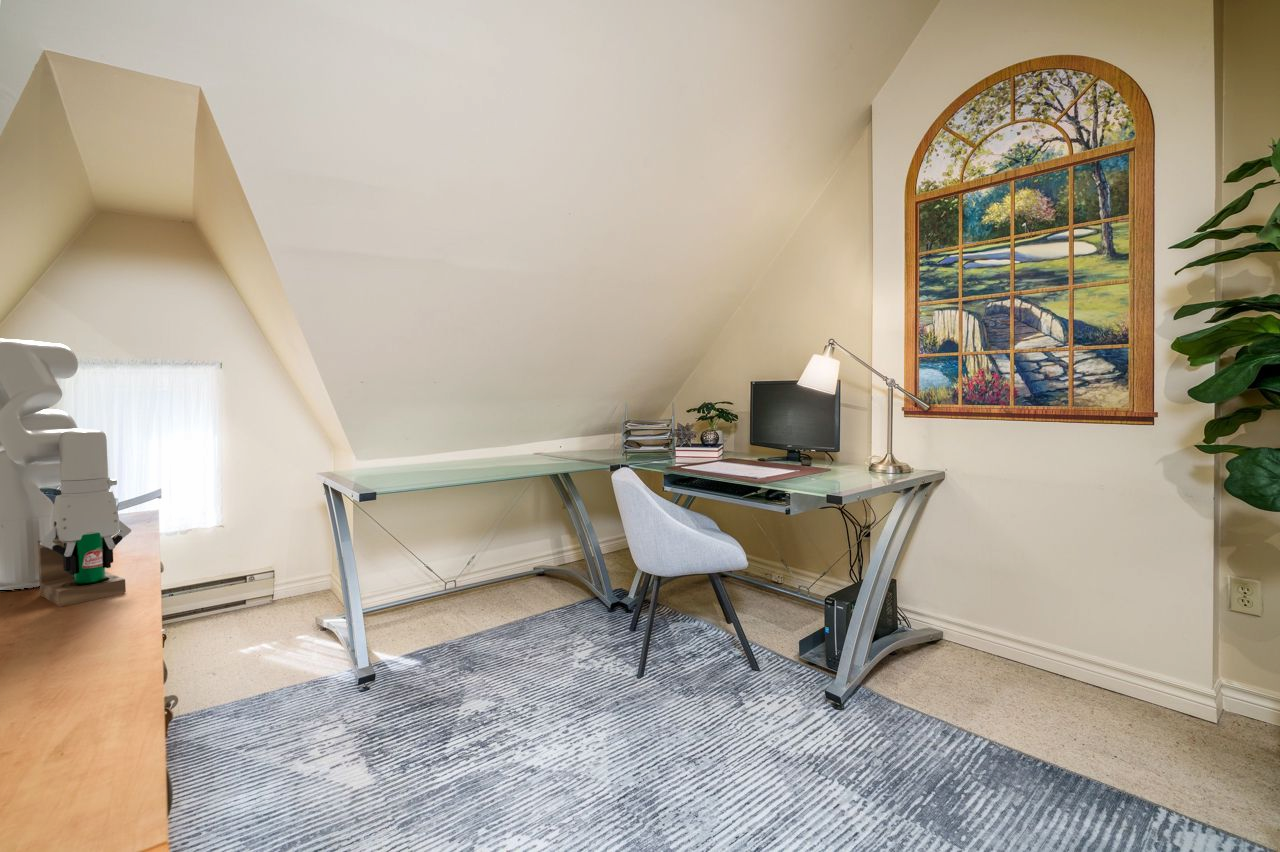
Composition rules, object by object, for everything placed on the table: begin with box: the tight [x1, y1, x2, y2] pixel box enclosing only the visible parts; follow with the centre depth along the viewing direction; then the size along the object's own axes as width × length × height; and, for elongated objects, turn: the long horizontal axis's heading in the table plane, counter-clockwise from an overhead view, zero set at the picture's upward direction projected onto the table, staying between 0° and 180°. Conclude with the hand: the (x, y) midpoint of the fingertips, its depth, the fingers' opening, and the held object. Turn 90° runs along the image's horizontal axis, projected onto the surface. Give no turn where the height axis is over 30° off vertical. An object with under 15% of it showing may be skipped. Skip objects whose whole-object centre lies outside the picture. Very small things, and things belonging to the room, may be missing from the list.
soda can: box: [72, 532, 106, 586], centre depth 128 cm, size 5×5×12 cm
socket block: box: [38, 539, 127, 608], centre depth 129 cm, size 14×10×12 cm
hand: (89, 569), depth 128 cm, fingers closed on soda can, 5 cm apart
